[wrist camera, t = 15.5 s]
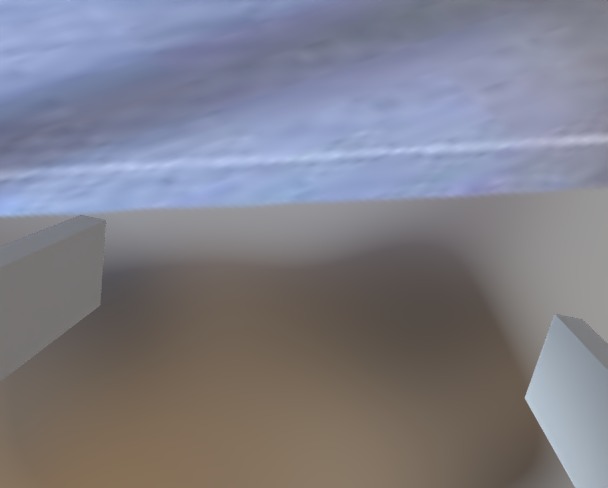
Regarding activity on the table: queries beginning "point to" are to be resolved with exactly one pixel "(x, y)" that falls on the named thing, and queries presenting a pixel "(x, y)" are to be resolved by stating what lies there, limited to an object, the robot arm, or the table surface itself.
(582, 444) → the robot arm
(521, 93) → the table surface
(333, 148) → the table surface
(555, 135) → the table surface
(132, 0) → the table surface
